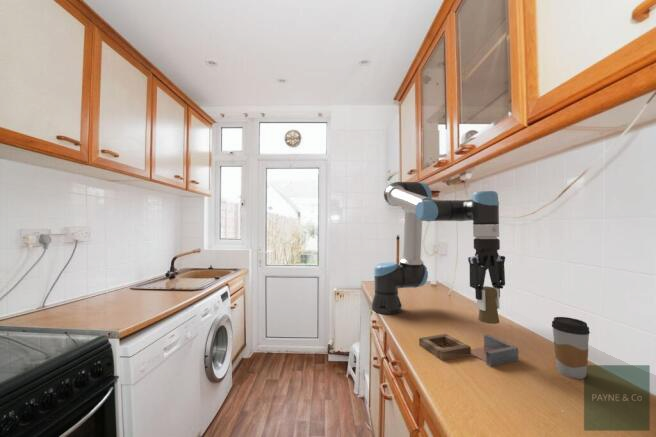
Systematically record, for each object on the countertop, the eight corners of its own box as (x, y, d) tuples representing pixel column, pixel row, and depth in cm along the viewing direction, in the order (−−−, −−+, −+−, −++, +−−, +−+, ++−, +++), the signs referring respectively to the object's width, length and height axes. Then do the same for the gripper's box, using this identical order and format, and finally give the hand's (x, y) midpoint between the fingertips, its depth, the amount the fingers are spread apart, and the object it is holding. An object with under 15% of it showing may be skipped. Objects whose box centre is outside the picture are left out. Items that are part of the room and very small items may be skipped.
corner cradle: (461, 350, 94) (461, 338, 94) (487, 345, 98) (487, 334, 98) (490, 366, 83) (490, 353, 84) (518, 360, 87) (518, 348, 87)
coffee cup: (592, 373, 79) (590, 321, 80) (590, 385, 74) (588, 328, 74) (555, 363, 85) (553, 314, 86) (550, 373, 80) (549, 321, 80)
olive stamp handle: (502, 324, 87) (501, 289, 87) (481, 323, 88) (480, 288, 89) (495, 318, 93) (494, 285, 93) (475, 317, 94) (474, 284, 95)
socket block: (419, 345, 99) (419, 337, 99) (445, 340, 102) (445, 333, 102) (442, 360, 88) (441, 352, 88) (470, 354, 91) (470, 346, 91)
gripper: (473, 239, 85) (475, 315, 84) (517, 237, 91) (519, 308, 90) (455, 238, 92) (457, 308, 92) (497, 236, 98) (499, 302, 97)
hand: (488, 308), depth 91 cm, fingers closed on olive stamp handle, 5 cm apart
